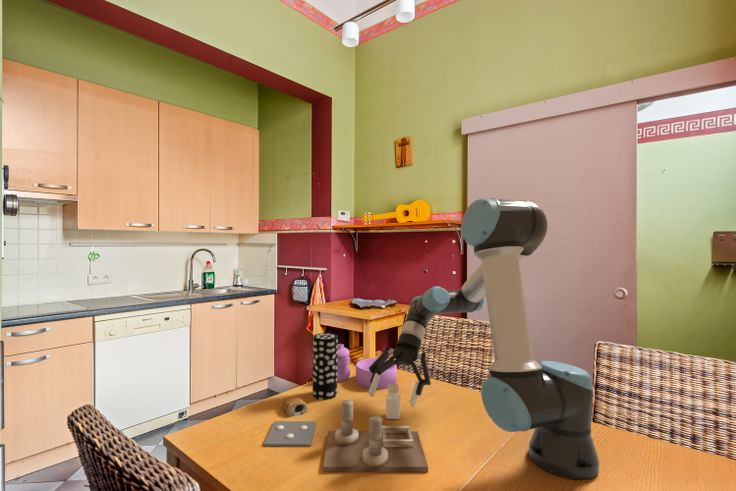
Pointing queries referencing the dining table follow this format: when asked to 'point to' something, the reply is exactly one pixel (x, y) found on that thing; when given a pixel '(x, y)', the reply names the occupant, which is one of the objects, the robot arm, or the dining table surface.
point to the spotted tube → (325, 366)
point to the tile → (291, 433)
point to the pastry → (294, 406)
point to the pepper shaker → (393, 402)
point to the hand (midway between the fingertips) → (390, 399)
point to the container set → (363, 370)
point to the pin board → (356, 453)
